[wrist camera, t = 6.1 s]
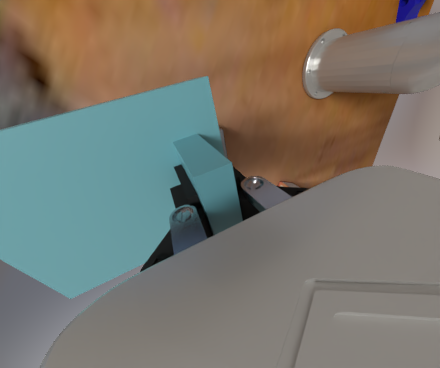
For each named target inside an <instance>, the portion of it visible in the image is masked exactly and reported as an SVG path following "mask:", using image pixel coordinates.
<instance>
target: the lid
mask: <svg viewBox="0 0 440 368" xmlns="http://www.w3.org/2000/svg"><path fill="white" fill-rule="evenodd" d="M180 164H181V165H182V166H183V168H184V170H185V172H186V174H187V176H188V177H189V179H190V181H191V183H192V185H193V187H194V189H195V191H196V193H197V195H198V197H199V200H200V202H201V205H202V208H203V210H204V212H205V214H206V217H207V220H208V222H209V225H210V228H211V231H212V233H213V235H215V234H217V233H219V232H222V231H224V230H226V229H228V228H230V227H232V226H234V225H236V224H238V223H240V222H242V221H243V219H242V214H241V209H240V203H239V198H238V193H237V187H236V182H235V177H234V171H233V166H232V162H231V161H229V160H228V159H227V158H226V157H225V155H224V150H223V146H222V141H221V136H220V131H219V127H218V122H217V117H216V112H215V108H214V103H213V98H212V93H211V88H210V84H209V79H208V76H205V77H199V78H195V79H191V80H187V81H183V82H180V83H176V84H172V85H168V86H164V87H161V88H157V89H153V90H149V91H145V92H142V93H138V94H134V95H130V96H126V97H123V98H119V99H115V100H111V101H107V102H104V103H100V104H96V105H92V106H88V107H85V108H81V109H77V110H73V111H69V112H66V113H62V114H58V115H54V116H50V117H47V118H43V119H39V120H35V121H31V122H28V123H24V124H20V125H16V126H12V127H9V128H5V129H1V130H0V259H1V260H2V261H4V262H6V263H8V264H9V265H11V266H13V267H15V268H16V269H18V270H20V271H22V272H24V273H25V274H27V275H29V276H31V277H33V278H34V279H36V280H38V281H40V282H42V283H43V284H45V285H47V286H48V287H50V288H52V289H54V290H56V291H57V292H59V293H61V294H63V295H64V296H66V297H68V298H70V299H72V298H74V297H76V296H78V295H80V294H82V293H84V292H86V291H88V290H90V289H92V288H94V287H96V286H98V285H101V284H103V283H105V282H107V281H109V280H111V279H113V278H115V277H117V276H119V275H121V274H123V273H125V272H128V271H129V270H132V269H134V268H136V267H138V266H140V265H142V264H144V263H146V261H147V260H148V259H149V257H150V256H151V255H152V253H153V252H154V251H155V249H156V248H157V246H158V245H159V244H160V242H161V241H162V240H163V238H164V237H165V236H166V234H167V233H168V231H169V230H170V223H169V217H170V215H171V213H172V212H173V211H174V210H175V209H176V208H175V205H174V201H173V198H172V194H171V191H170V188H172V187H175V186H177V185H180V184H181V183H180V181H179V179H178V176H177V174H176V171H175V169H174V167H175V166H178V165H180Z"/></svg>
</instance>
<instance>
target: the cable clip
mask: <svg viewBox="0 0 440 368" xmlns="http://www.w3.org/2000/svg"><path fill="white" fill-rule="evenodd" d="M425 1H426V0H400V2H399V8H398V13H397V19H396V23H398V22H402V21H406V20H410V19H414V18H417V15H418V12H419V10H420V8H421V7H422V5H423V4H424V2H425Z"/></svg>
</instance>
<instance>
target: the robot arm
mask: <svg viewBox="0 0 440 368" xmlns="http://www.w3.org/2000/svg"><path fill="white" fill-rule="evenodd" d="M438 85H440V12H438V13H434V14H430V15H426V16H422V17H418V18H414V19H410V20H406V21H402V22H398V23H394V24H390V25H386V26H382V27H378V28H374V29H370V30H366V31H362V32H358V33H354V34H350V35H347V33H346V32H345V31H344V30H342V29H339V28H337V29H331V30H328V31H326V32H324V33H323V34H322V35H320V36H319V37H318V38H317V40H316V41H315V42H314V43H313V45H312V46H311V48H310V50H309V52H308V54H307V57H306V60H305V63H304V67H303V86H304V89H305V91H306V93H307V94H308V95H309V96H310V97H312V98H315V99H322V98H325V97H327V96H329V95H330V94H332V93H333V92H355V93H388V94H413V93H419V92H423V91H426V90H429V89H432V88H434V87H436V86H438ZM439 139H440V138H439ZM174 169H175V171H176V174H177V176H178V179H179V181H180V183H181V184H180V185H177V186H175V187H172V188H170V191H171V194H172V198H173V201H174V205H175V208H176V209H175V210H174V211H173V212H172V213H171V215H170V217H169V223H170V230H169V231H168V233H167V234H166V236H165V237H164V238H163V240H162V241H161V242H160V244H159V245H158V246H157V248H156V249H155V251H154V252H153V253H152V255H151V256H150V257H149V259H148V260H147V261H146V263H145V264H144V266H143V267H142V269H141V271H140V273H138V274H136V275H134V276H132V277H130V278H128V279H127V280H125V281H123V282H122V283H120V284H118V285H117V286H115V287H113V288H112V289H110V290H109V291H107V292H106V293H105V294H103V295H102V296H101V297H99V298H98V299H96V300H95V301H94V302H93V303H92V304H90V305H89V306H88V307H87V308H86V309H85V310H83V311H82V312H81V313H80V314H79V315H77V316H76V318H74V319H73V320H72V321H71V322H70V323H69V324H68V325H67V326H66V328H65V329H64V330H63V331H62V332H61V333H60V334H59V336H58V337H57V338H56V340H55V341H54V342H53V344H52V346H51V347H50V349H49V350H48V352H47V354H46V356H45V358H44V359H43V361H42V363H41V365H40V367H39V368H440V179H438V178H434V177H431V176H428V175H424V174H421V173H417V172H414V171H410V170H406V169H402V168H399V167H394V166H371V167H365V168H360V169H356V170H352V171H349V172H346V173H343V174H341V175H338V176H336V177H334V178H331V179H329V180H327V181H325V182H323V183H320V184H318V185H316V186H314V187H312V188H310V189H308V188H298V187H282V186H275V185H274V184H272V183H271V182H269V181H268V180H266V179H265V178H263V177H259V176H251V177H248V178H246V177H244V176H243V175H242V174H241V173H240V172H239V171H238V170H236V169H235V168H234V167H233V171H234V177H235V182H236V187H237V193H238V198H239V203H240V209H241V214H242V219H243V221H242V222H240V223H238V224H236V225H234V226H232V227H230V228H228V229H226V230H224V231H222V232H219V233H217V234H215V235H213V233H212V231H211V228H210V225H209V222H208V220H207V217H206V214H205V212H204V210H203V208H202V205H201V202H200V200H199V197H198V195H197V193H196V191H195V189H194V187H193V185H192V183H191V181H190V179H189V177H188V176H187V174H186V172H185V170H184V168H183V166H182V165H181V164H180V165H178V166H175V167H174Z"/></svg>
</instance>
